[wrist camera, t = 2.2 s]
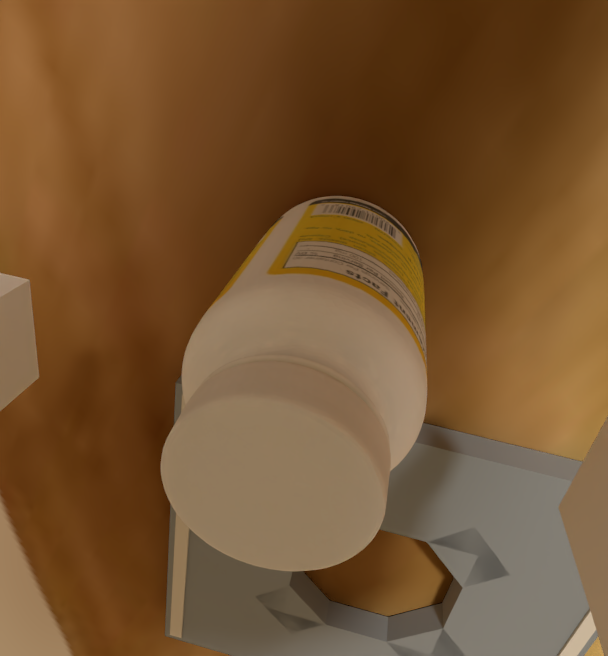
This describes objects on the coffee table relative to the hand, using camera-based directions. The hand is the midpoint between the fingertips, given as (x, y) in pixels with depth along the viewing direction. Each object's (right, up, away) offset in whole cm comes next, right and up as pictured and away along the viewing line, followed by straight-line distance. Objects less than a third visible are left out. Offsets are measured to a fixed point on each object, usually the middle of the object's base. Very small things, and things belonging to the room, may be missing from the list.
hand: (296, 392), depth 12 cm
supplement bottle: (+1, +3, +5) cm, 7 cm away
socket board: (+3, -9, +11) cm, 15 cm away
